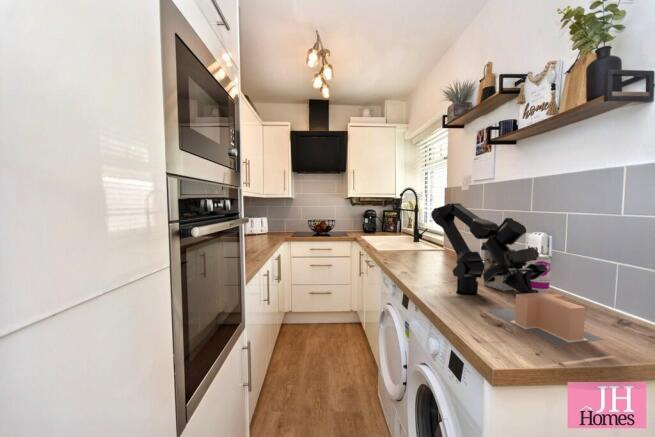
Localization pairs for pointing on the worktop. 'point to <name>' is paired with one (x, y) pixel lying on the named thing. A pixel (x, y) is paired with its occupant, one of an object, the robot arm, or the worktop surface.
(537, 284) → the supplement can
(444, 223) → the robot arm
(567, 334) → the t block
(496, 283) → the coffee box
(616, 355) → the worktop surface
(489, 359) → the worktop surface
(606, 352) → the worktop surface
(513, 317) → the mat
